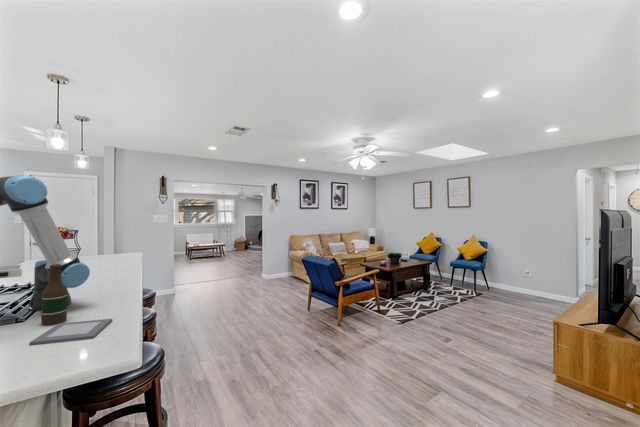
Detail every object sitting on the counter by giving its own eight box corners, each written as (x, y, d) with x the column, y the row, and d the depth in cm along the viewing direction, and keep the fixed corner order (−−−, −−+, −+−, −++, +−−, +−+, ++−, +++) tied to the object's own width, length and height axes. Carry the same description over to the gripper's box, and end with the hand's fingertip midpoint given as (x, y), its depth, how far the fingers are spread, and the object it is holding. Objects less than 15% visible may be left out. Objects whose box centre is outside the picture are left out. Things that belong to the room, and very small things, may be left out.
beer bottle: (50, 326, 110) (52, 266, 111) (35, 325, 112) (37, 265, 112) (71, 319, 118) (73, 263, 118) (57, 318, 119) (59, 262, 120)
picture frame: (59, 325, 111) (59, 323, 111) (112, 320, 117) (112, 318, 117) (29, 345, 94) (29, 342, 94) (93, 338, 100) (93, 335, 100)
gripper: (-68, 283, 100) (19, 275, 116) (-82, 296, 83) (21, 285, 99) (-67, 262, 100) (20, 257, 116) (-80, 271, 84) (22, 264, 100)
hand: (21, 270), depth 108 cm, fingers open, 13 cm apart
